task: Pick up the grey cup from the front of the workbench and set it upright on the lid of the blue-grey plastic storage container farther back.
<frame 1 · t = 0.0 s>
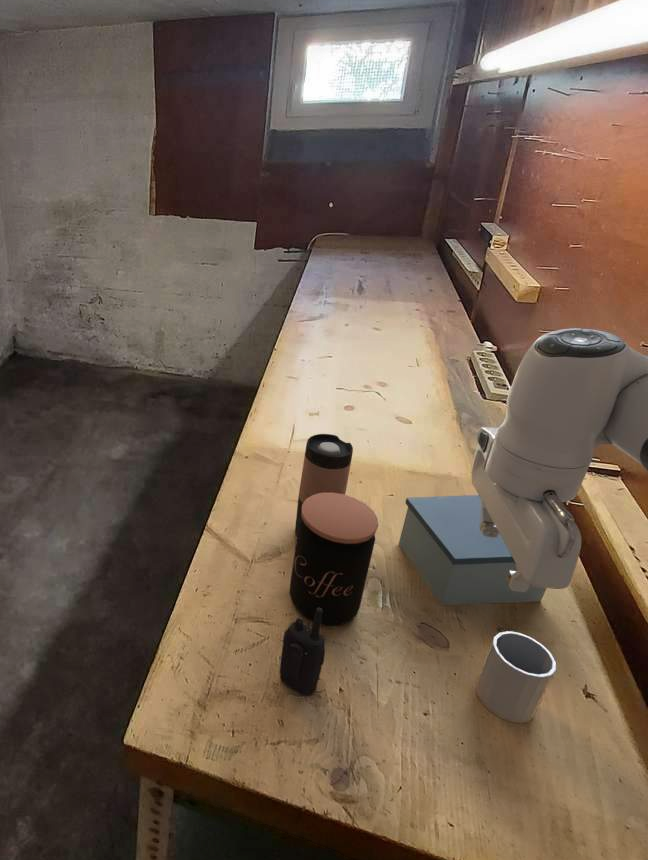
hand: (500, 558, 70), 20 cm above the table, tool pointing down, fingers open, 8 cm apart
grey cup: (504, 698, 75), on the table
storage container: (465, 570, 95), on the table
coffee jar: (322, 603, 91), on the table
two-way radio: (295, 686, 78), on the table
travel mug: (314, 536, 105), on the table
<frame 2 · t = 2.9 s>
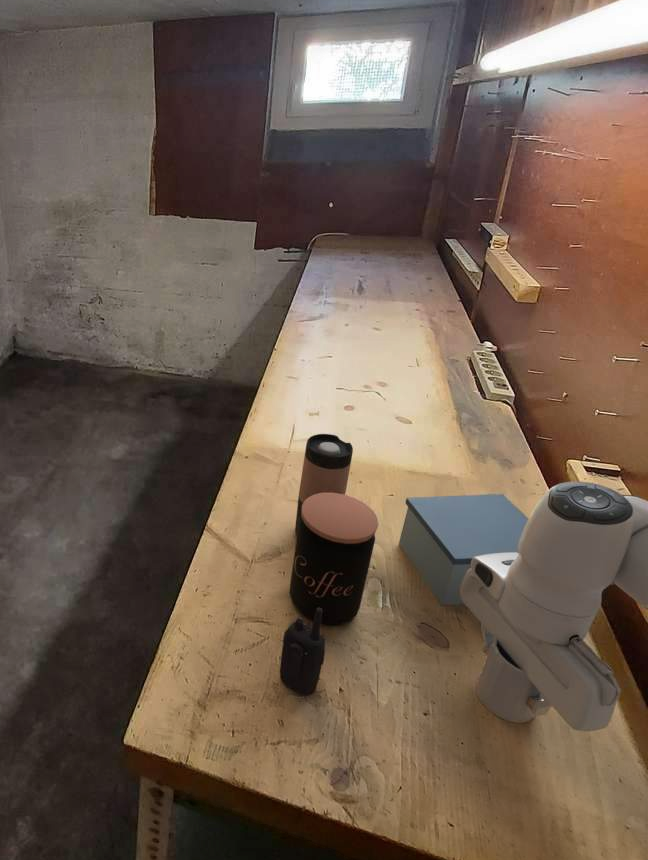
hand: (511, 680, 73), 4 cm above the table, tool pointing down, fingers closed on grey cup, 6 cm apart
grey cup: (504, 698, 75), on the table, touching gripper
everything else where it was.
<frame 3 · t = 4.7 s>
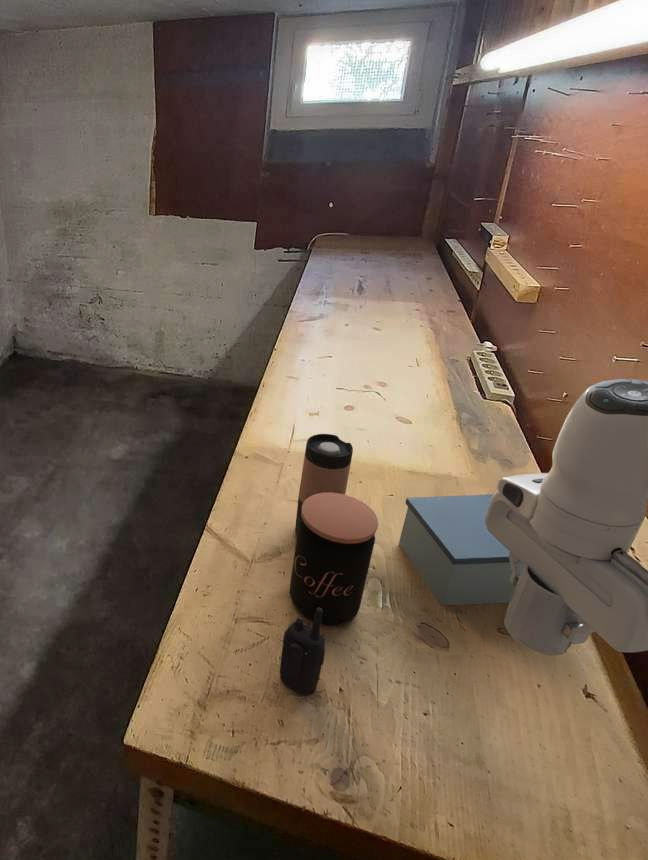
hand: (544, 610, 68), 17 cm above the table, tool pointing down, fingers closed on grey cup, 6 cm apart
grey cup: (535, 632, 69), point 13 cm above the table, touching gripper
everything else where it was.
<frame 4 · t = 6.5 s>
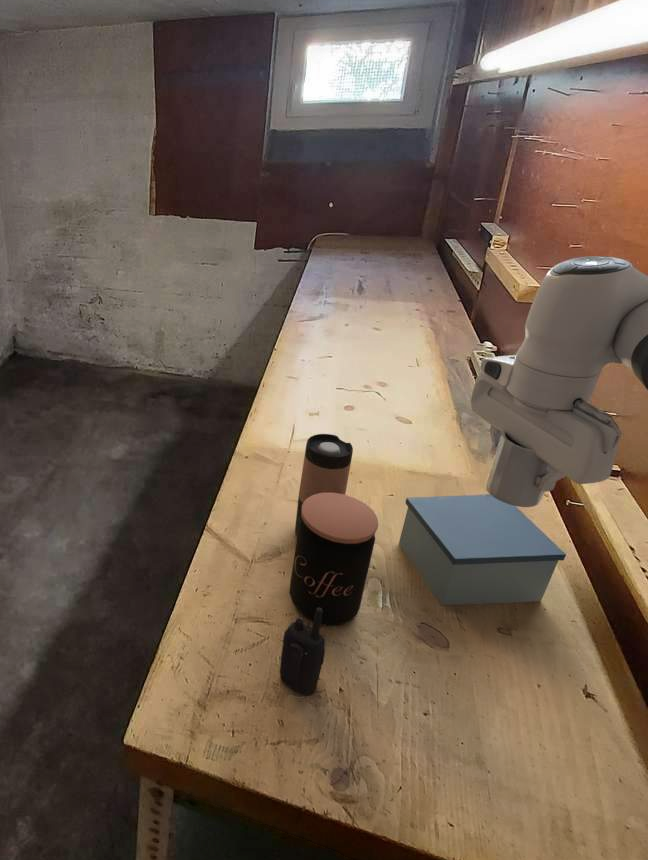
hand: (519, 471, 79), 25 cm above the table, tool pointing down, fingers closed on grey cup, 6 cm apart
grey cup: (512, 492, 80), point 21 cm above the table, touching gripper
everything else where it was.
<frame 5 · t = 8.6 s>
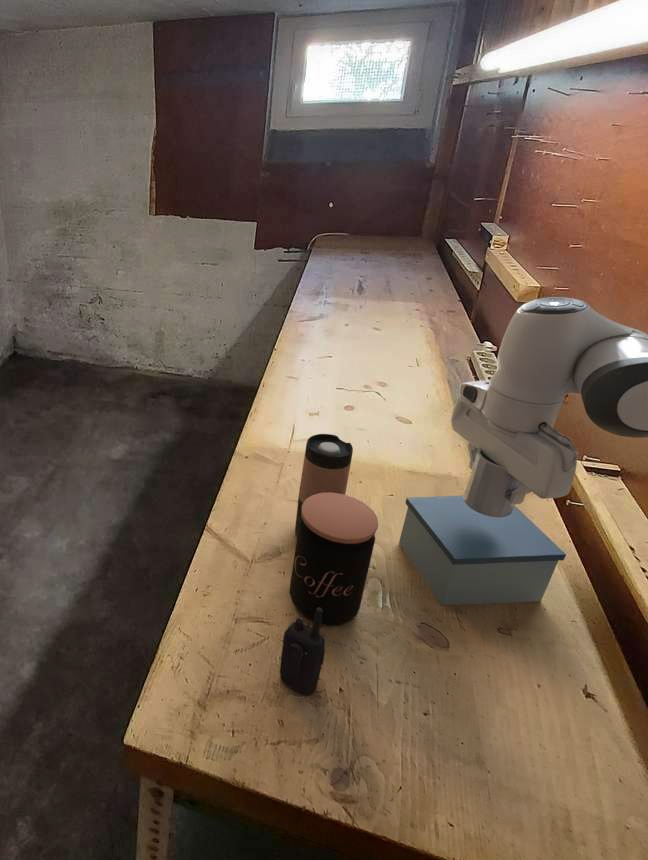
hand: (493, 485, 87), 18 cm above the table, tool pointing down, fingers closed on grey cup, 6 cm apart
grey cup: (487, 504, 89), point 14 cm above the table, touching gripper
everything else where it was.
when the fingers open (14 cm above the table, at t = 10.3 s): grey cup stays where it is, resting on storage container.
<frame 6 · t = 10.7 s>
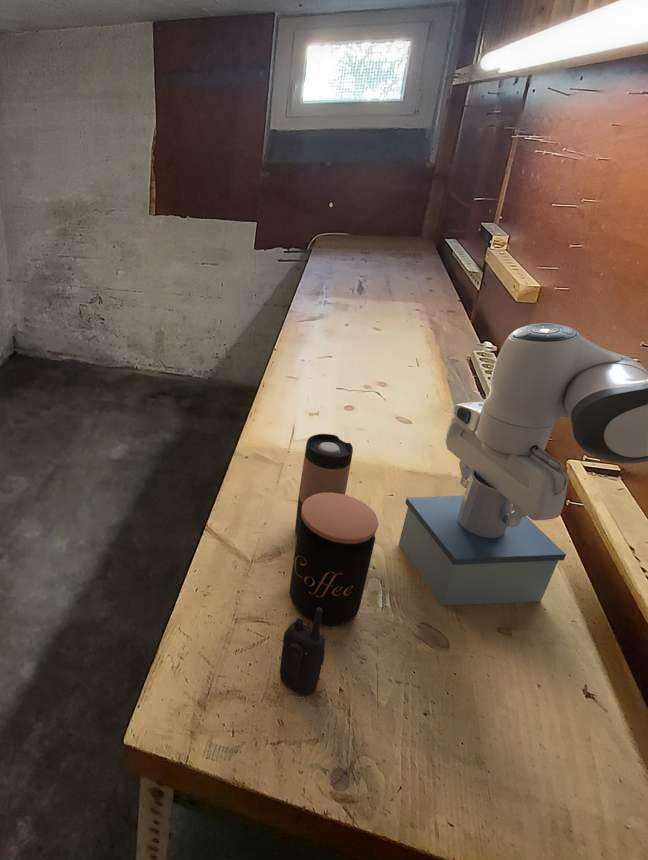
hand: (487, 504, 89), 14 cm above the table, tool pointing down, fingers open, 8 cm apart
grey cup: (480, 524, 91), point 10 cm above the table, touching storage container
everything else where it was.
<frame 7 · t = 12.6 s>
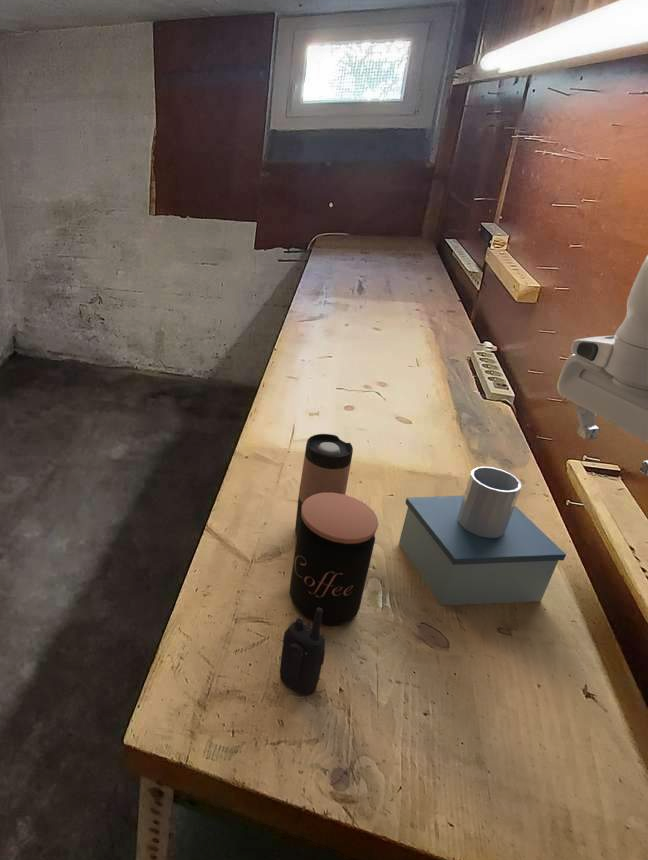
hand: (616, 454, 77), 28 cm above the table, tool pointing down, fingers open, 8 cm apart
nothing on the table moved.
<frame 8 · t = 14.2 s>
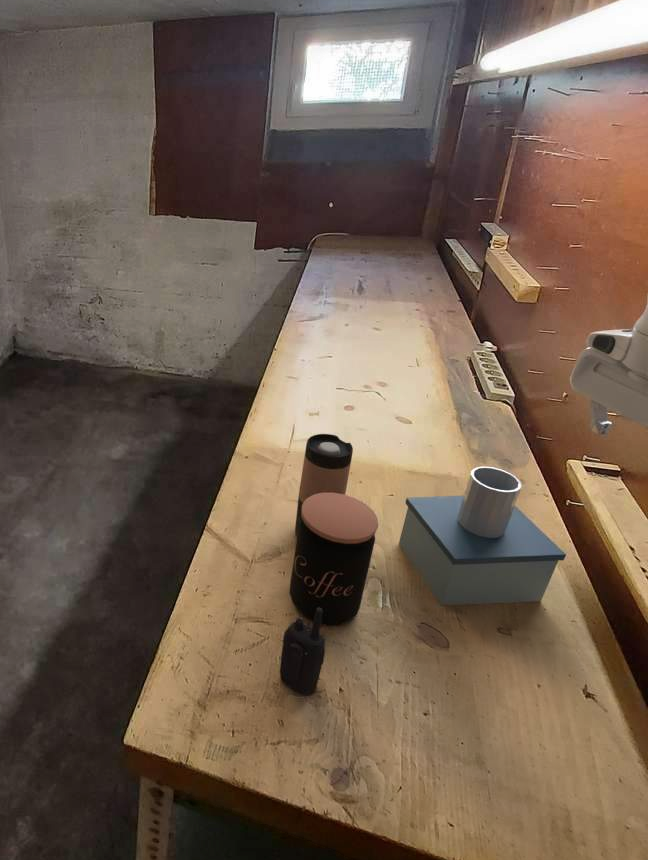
hand: (629, 450, 75), 29 cm above the table, tool pointing down, fingers open, 8 cm apart
nothing on the table moved.
at the end: grey cup inside the target area on the storage container (0.0 cm from its centre), point 10.2 cm above the storage container's base; grey cup tilted 0°; the gripper is holding nothing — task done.
